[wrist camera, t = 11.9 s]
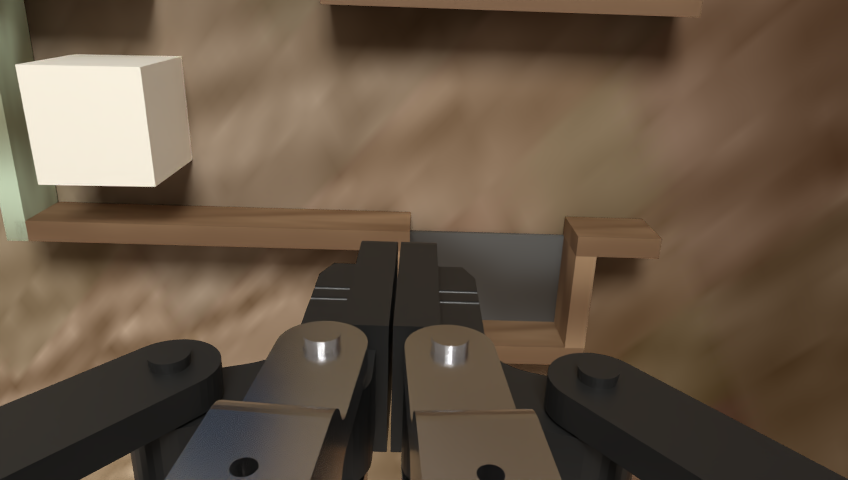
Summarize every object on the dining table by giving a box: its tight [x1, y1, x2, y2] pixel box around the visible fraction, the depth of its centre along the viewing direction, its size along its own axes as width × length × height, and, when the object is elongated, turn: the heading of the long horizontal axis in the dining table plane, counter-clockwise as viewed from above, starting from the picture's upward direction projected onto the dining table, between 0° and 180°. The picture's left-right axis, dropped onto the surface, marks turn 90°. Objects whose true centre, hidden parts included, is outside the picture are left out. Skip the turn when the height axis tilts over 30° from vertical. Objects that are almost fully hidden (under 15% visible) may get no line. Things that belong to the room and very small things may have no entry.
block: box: [15, 54, 193, 187], centre depth 30 cm, size 5×5×5 cm
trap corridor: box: [0, 0, 703, 365], centre depth 30 cm, size 24×31×3 cm
